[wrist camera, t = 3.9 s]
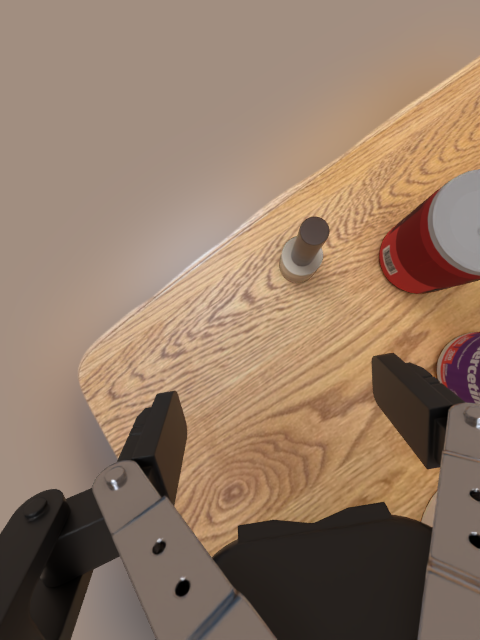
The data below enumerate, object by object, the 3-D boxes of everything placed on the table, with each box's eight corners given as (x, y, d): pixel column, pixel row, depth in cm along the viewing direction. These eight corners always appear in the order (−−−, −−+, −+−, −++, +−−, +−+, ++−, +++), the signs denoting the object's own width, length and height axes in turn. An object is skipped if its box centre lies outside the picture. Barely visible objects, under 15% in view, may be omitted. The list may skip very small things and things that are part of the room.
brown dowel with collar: (285, 287, 34) (296, 263, 23) (274, 252, 34) (281, 213, 23) (320, 276, 34) (348, 248, 23) (309, 242, 34) (332, 197, 23)
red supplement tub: (425, 309, 33) (507, 295, 22) (361, 267, 33) (409, 233, 23) (466, 250, 33) (569, 207, 22) (402, 209, 33) (470, 147, 23)
